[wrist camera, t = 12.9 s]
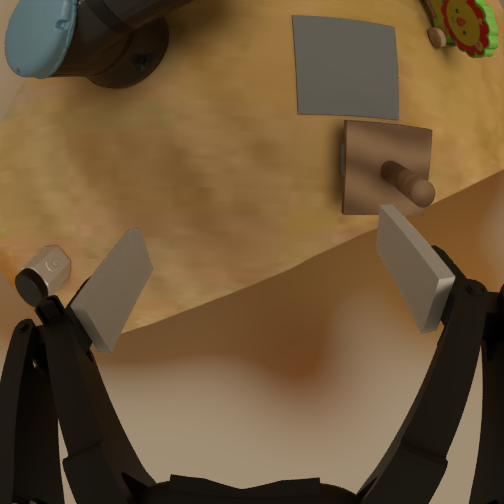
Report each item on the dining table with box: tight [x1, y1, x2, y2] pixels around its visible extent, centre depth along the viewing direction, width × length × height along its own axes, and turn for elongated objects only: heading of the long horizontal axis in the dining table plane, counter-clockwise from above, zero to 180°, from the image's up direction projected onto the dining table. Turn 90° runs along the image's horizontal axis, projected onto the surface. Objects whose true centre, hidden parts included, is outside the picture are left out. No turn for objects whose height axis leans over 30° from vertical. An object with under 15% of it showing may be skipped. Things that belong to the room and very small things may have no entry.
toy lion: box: [424, 0, 498, 58], centre depth 21 cm, size 16×5×15 cm, turn 22°
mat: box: [292, 15, 399, 120], centre depth 34 cm, size 16×16×1 cm
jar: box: [15, 246, 71, 307], centre depth 49 cm, size 9×8×12 cm
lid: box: [342, 120, 435, 216], centre depth 31 cm, size 13×13×11 cm
